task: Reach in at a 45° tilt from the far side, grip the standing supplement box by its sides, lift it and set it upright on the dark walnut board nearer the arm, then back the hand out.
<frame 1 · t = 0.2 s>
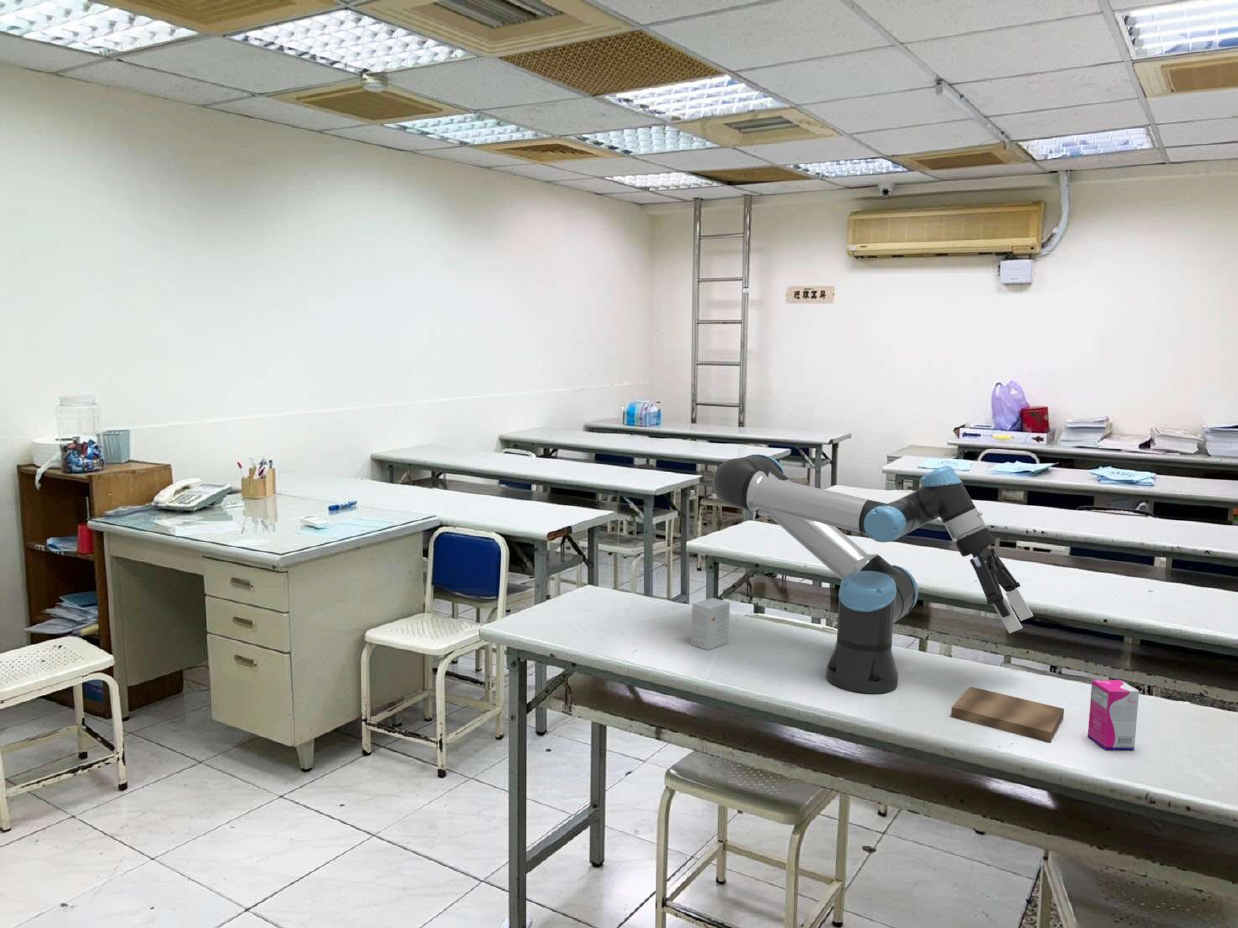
hand: (1021, 624, 180), 16 cm above the table, tool tilted 35°, fingers open, 13 cm apart
small box: (709, 645, 210), on the table
walnut board: (1007, 717, 172), on the table
supplement box: (1109, 744, 161), on the table
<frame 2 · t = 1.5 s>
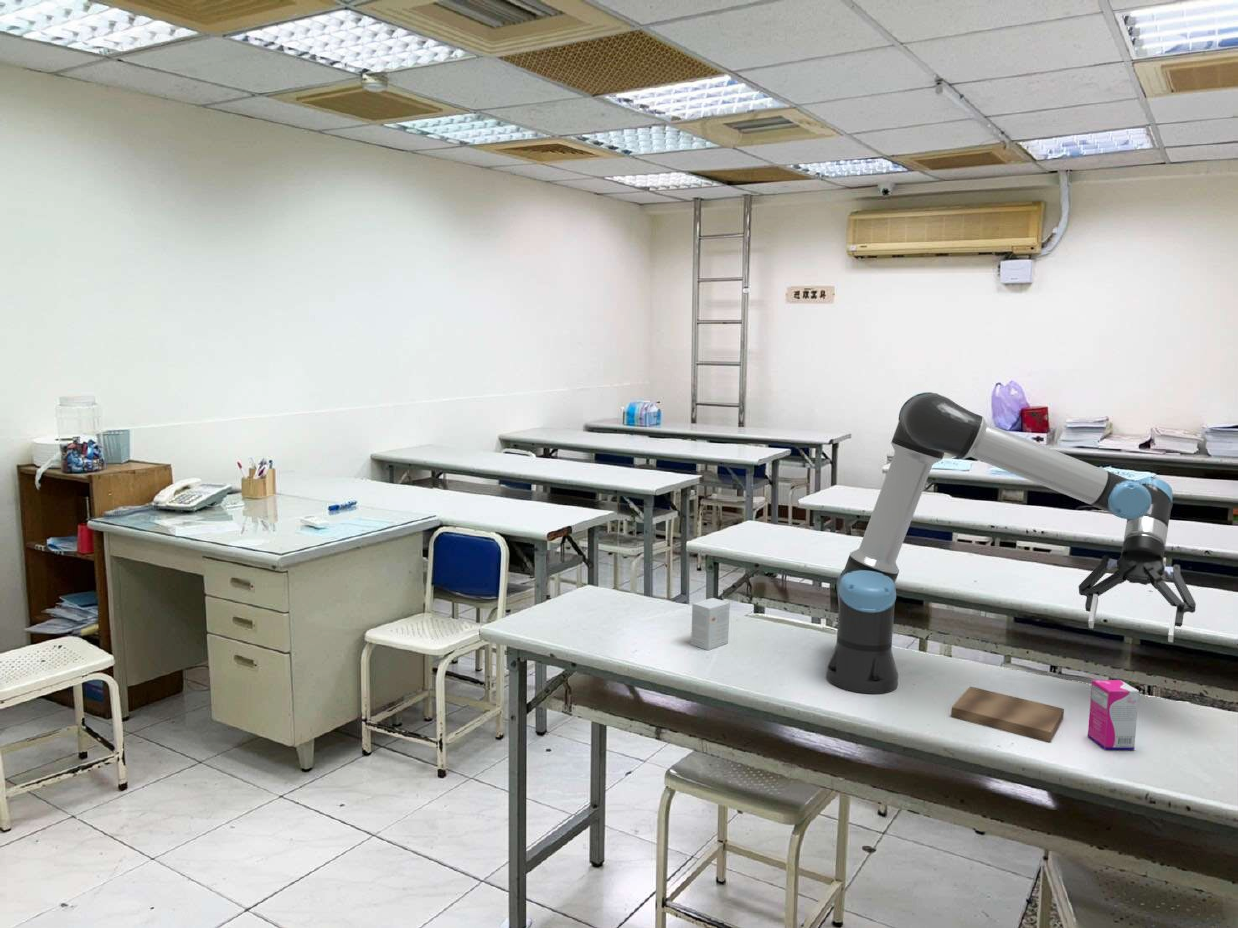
hand: (1129, 631, 169), 18 cm above the table, tool tilted 45°, fingers open, 13 cm apart
nothing on the table moved.
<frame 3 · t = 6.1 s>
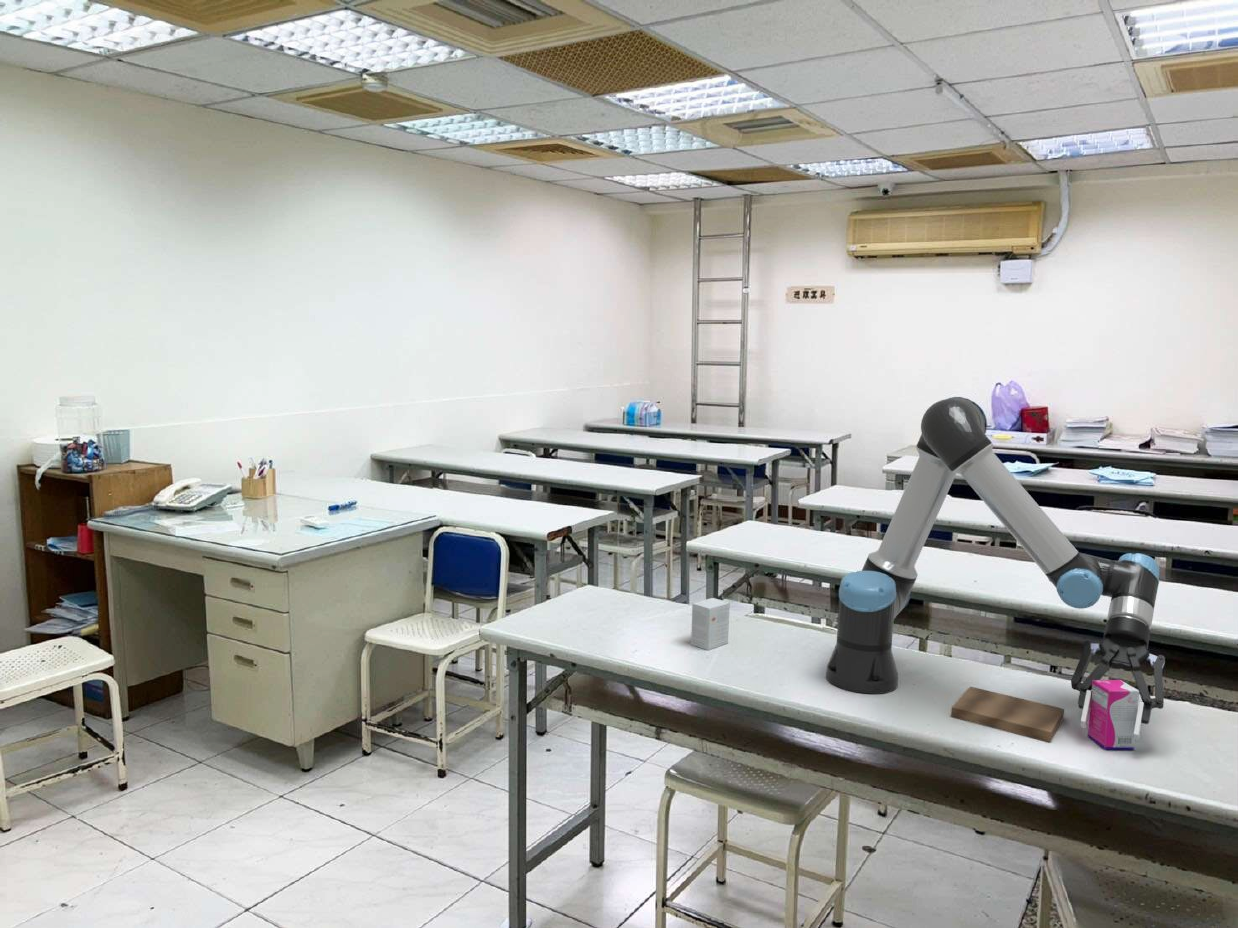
hand: (1109, 730, 158), 4 cm above the table, tool tilted 45°, fingers closed on supplement box, 8 cm apart
supplement box: (1109, 744, 161), on the table, touching gripper
everything else where it was.
when the fingers open (7 cm above the table, at t = 12.0 s): supplement box drops 1 cm, resting on walnut board.
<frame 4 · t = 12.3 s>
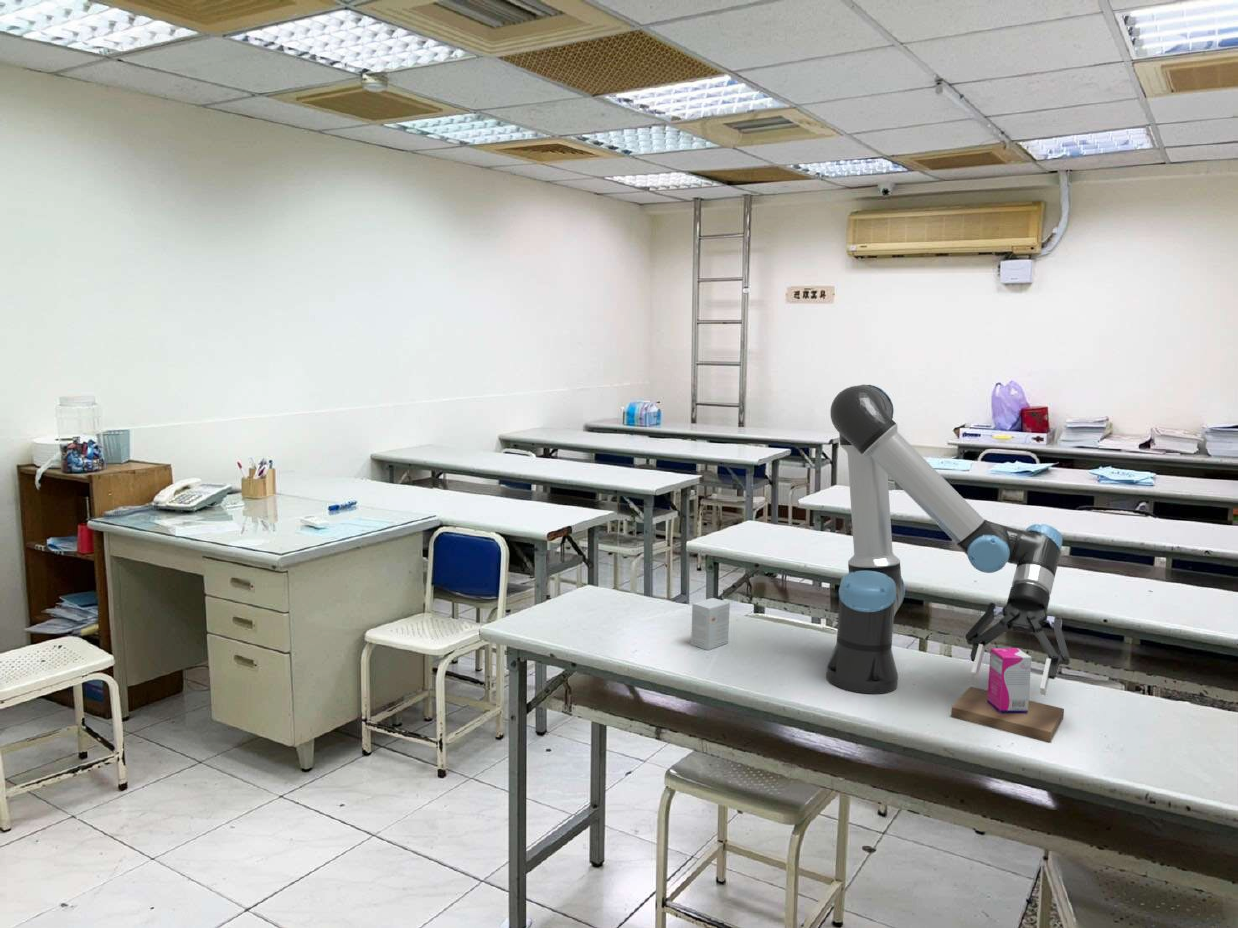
hand: (1007, 683, 168), 8 cm above the table, tool tilted 45°, fingers open, 12 cm apart
supplement box: (1006, 708, 172), point 2 cm above the table, touching walnut board
everything else where it was.
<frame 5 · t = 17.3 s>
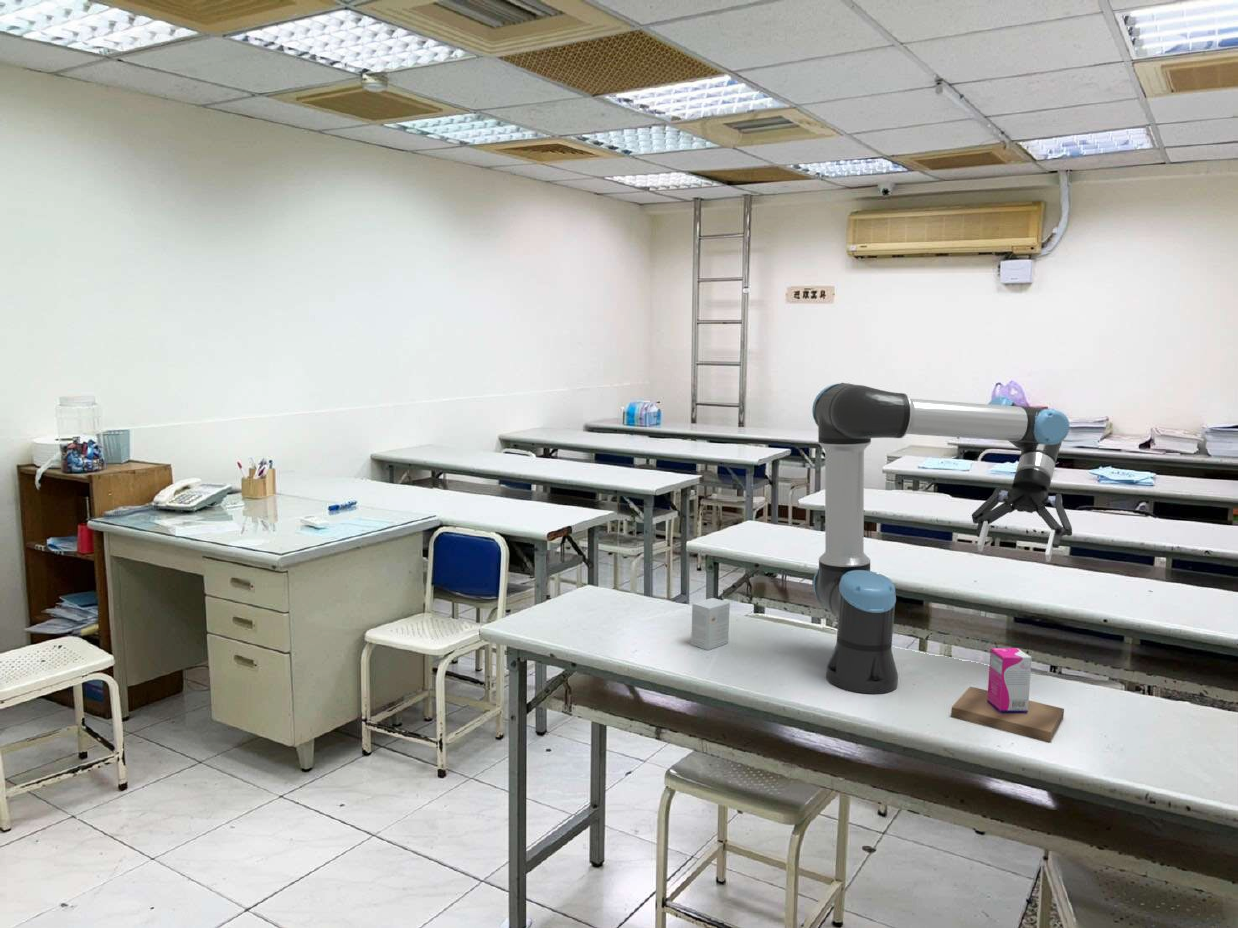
hand: (1012, 553, 185), 30 cm above the table, tool tilted 45°, fingers open, 13 cm apart
nothing on the table moved.
at the end: supplement box inside the target area on the walnut board (0.3 cm from its centre), point 1.8 cm above the walnut board's base; supplement box tilted 0°; the gripper is holding nothing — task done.
